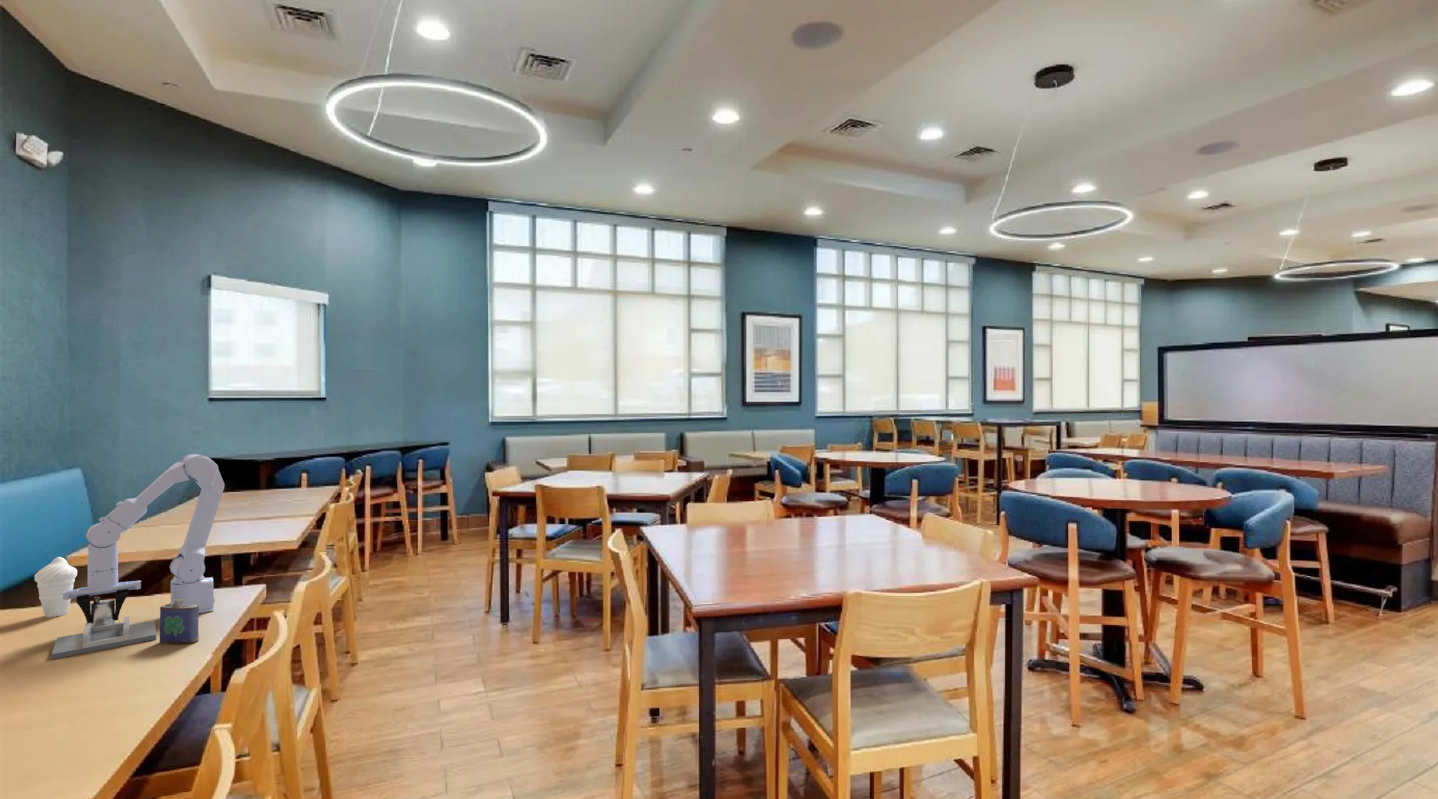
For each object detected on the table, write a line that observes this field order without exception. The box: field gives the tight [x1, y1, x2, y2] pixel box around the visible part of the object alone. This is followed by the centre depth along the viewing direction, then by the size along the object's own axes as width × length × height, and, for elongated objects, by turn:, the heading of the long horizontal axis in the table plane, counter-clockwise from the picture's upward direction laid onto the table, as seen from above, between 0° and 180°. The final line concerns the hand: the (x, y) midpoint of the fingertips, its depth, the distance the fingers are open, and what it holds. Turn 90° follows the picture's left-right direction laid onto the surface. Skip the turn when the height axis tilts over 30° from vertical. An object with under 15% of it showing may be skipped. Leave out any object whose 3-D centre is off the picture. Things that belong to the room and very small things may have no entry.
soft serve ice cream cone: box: [34, 556, 78, 618], centre depth 177 cm, size 8×8×16 cm
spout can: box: [91, 596, 116, 628], centre depth 166 cm, size 4×4×8 cm
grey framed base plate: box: [51, 616, 157, 660], centre depth 158 cm, size 18×14×4 cm
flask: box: [159, 598, 200, 645], centre depth 157 cm, size 9×3×11 cm, turn 88°
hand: (103, 621), depth 166 cm, fingers closed on spout can, 4 cm apart
